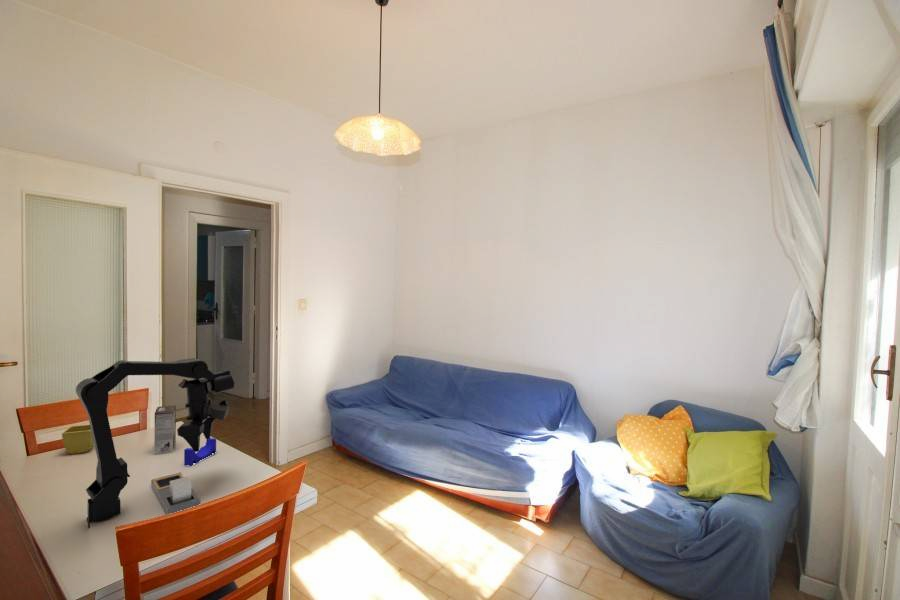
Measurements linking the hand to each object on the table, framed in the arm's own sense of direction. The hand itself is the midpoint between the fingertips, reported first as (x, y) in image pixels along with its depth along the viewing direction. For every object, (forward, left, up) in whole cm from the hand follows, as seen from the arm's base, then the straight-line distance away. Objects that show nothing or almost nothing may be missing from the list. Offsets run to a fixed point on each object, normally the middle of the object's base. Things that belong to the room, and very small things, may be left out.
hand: (202, 444), depth 135 cm
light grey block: (-8, -10, -13) cm, 18 cm away
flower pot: (-26, +61, -14) cm, 68 cm away
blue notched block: (+5, +25, -14) cm, 29 cm away
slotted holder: (-8, -3, -14) cm, 16 cm away
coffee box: (-2, +43, -14) cm, 46 cm away
